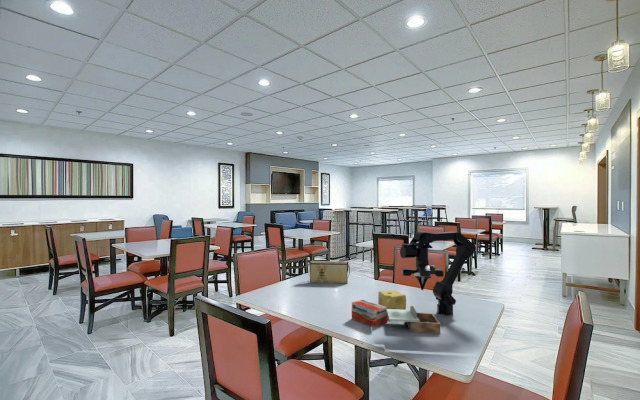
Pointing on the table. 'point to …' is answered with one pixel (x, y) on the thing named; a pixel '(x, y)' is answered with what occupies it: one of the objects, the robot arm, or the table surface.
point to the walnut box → (425, 324)
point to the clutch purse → (328, 271)
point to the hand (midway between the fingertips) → (422, 289)
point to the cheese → (392, 300)
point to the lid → (403, 315)
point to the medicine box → (369, 313)
